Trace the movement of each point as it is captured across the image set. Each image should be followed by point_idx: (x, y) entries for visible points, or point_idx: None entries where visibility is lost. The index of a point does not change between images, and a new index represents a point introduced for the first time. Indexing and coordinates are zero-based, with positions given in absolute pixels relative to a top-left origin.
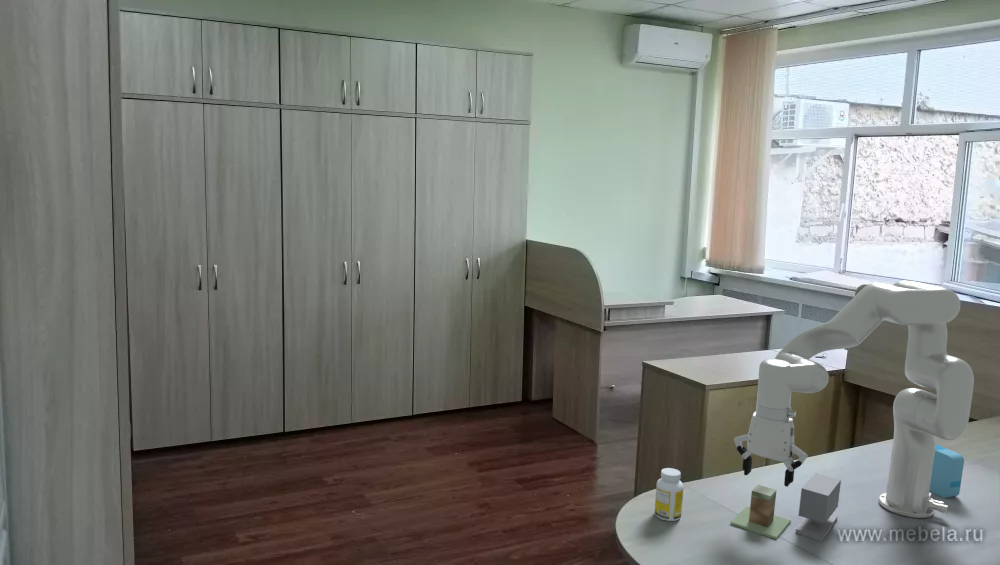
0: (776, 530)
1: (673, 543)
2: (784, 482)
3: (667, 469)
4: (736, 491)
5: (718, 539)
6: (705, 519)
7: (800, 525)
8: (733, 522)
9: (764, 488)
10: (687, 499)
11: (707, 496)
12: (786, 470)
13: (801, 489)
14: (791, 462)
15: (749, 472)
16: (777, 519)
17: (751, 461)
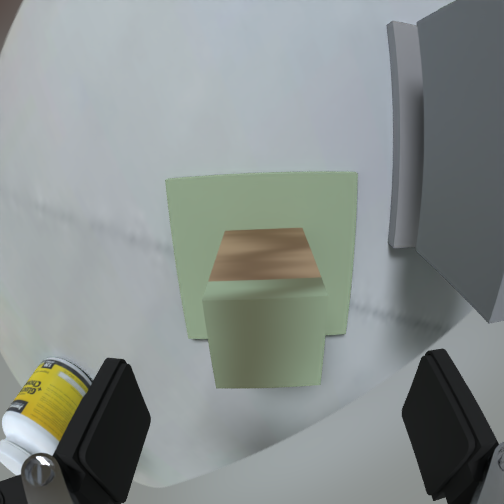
0: (335, 295)
1: (160, 456)
2: (407, 430)
3: (3, 460)
4: (80, 65)
5: (213, 414)
6: (126, 349)
7: (402, 209)
8: (197, 337)
9: (258, 326)
10: (24, 265)
11: (37, 196)
12: (436, 499)
13: (484, 318)
14: (497, 496)
15: (137, 389)
16: (312, 205)
17: (100, 433)
